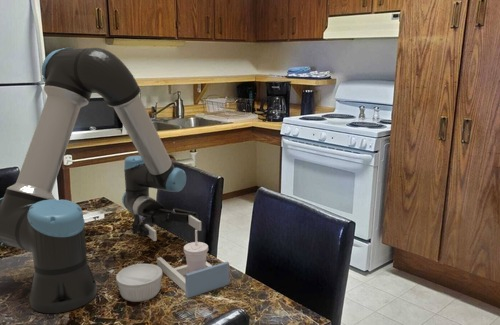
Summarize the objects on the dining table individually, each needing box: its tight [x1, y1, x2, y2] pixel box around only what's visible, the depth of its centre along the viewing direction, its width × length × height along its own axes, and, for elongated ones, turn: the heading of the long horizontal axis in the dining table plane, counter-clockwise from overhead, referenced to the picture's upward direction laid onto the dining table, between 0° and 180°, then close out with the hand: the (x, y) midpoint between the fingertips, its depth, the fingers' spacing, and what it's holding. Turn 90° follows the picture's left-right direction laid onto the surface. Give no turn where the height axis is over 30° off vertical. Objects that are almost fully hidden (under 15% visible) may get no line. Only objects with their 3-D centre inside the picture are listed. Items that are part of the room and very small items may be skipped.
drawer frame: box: [156, 256, 230, 299], centre depth 116 cm, size 12×20×6 cm, turn 35°
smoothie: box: [183, 229, 209, 273], centre depth 112 cm, size 6×6×14 cm
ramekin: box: [115, 263, 164, 303], centre depth 107 cm, size 11×11×5 cm
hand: (178, 231), depth 120 cm, fingers open, 13 cm apart
